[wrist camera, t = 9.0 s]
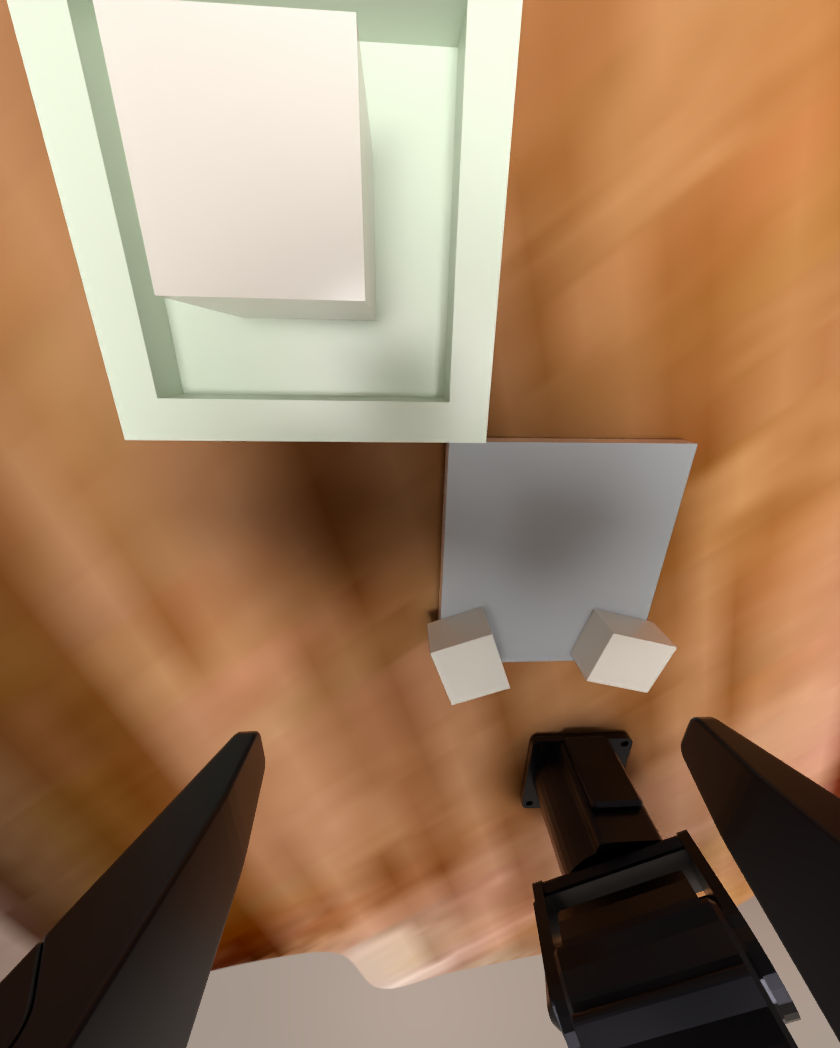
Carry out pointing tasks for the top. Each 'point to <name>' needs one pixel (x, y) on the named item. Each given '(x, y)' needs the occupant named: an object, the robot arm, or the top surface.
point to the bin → (400, 241)
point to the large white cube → (247, 154)
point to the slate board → (555, 558)
